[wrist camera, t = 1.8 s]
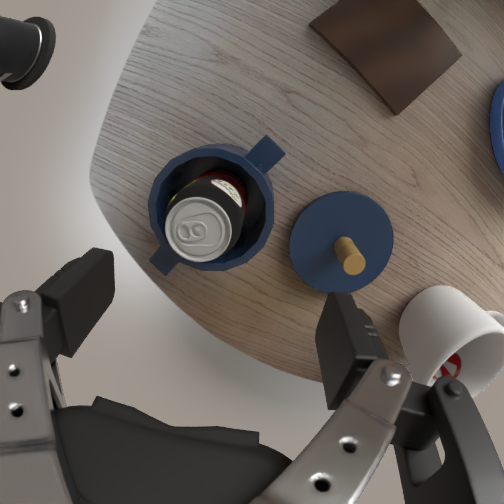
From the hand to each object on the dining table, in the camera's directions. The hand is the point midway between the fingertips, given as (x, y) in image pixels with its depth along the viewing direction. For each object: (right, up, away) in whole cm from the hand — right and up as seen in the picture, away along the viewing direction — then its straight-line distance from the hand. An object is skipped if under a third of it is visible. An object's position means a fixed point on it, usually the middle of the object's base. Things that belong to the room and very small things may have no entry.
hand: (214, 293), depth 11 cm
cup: (+30, -7, +28) cm, 42 cm away
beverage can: (-2, +8, +23) cm, 24 cm away
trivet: (+17, +26, +15) cm, 35 cm away
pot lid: (+12, +2, +24) cm, 27 cm away
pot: (-2, +8, +23) cm, 25 cm away
